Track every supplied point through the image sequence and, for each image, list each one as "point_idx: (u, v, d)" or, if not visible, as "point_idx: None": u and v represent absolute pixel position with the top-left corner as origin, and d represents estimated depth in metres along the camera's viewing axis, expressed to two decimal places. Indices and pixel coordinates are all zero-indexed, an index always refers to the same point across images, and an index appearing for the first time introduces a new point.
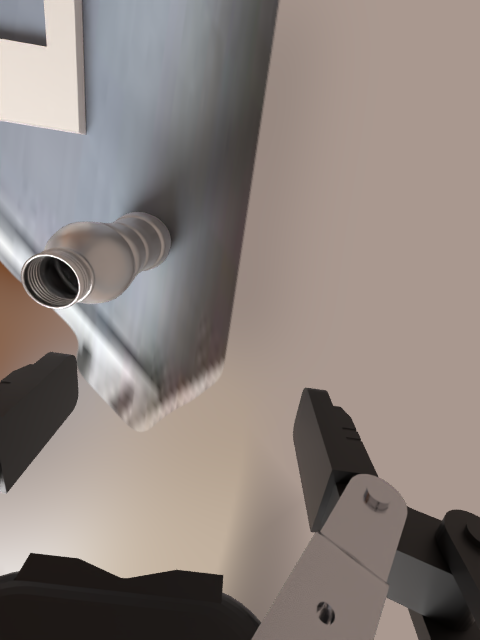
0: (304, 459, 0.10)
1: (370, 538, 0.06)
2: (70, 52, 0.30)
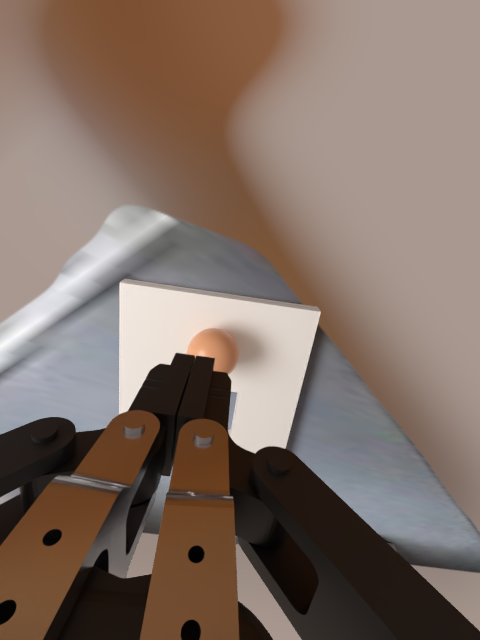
0: None
1: (208, 471, 0.07)
2: None
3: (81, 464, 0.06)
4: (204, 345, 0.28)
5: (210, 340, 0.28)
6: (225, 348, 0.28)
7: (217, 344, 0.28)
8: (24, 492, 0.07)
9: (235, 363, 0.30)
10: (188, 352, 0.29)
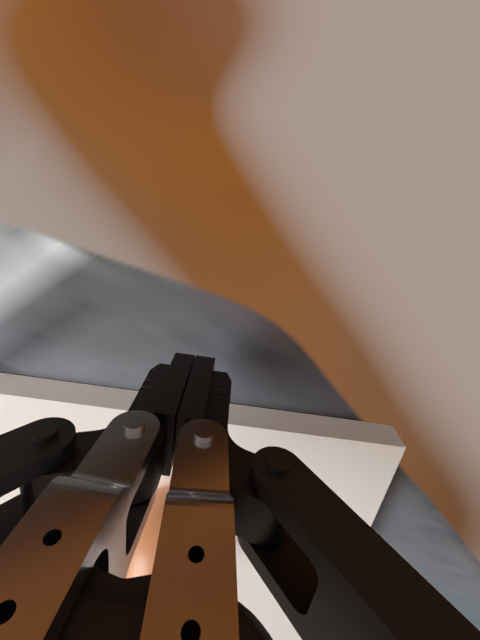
0: None
1: (208, 471, 0.07)
2: None
3: (81, 465, 0.06)
4: (142, 565, 0.12)
5: None
6: None
7: None
8: (24, 492, 0.07)
9: None
10: None
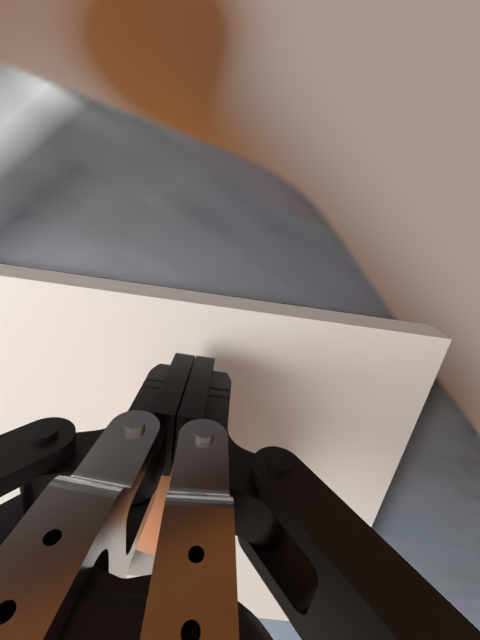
0: None
1: (208, 471, 0.07)
2: None
3: (81, 465, 0.06)
4: None
5: None
6: None
7: None
8: (25, 492, 0.07)
9: None
10: None
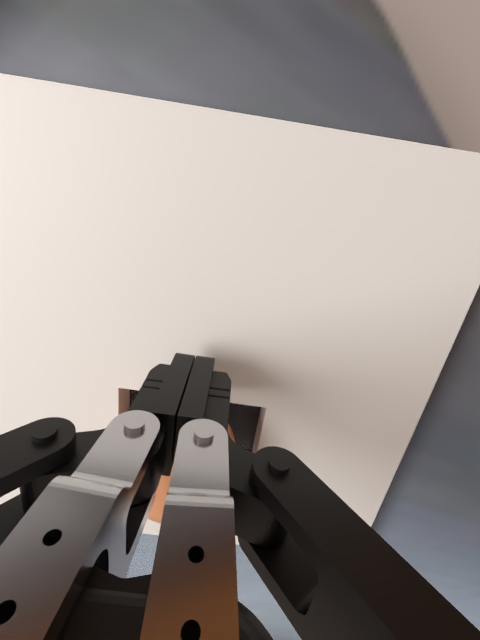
0: None
1: (208, 471, 0.07)
2: None
3: (81, 465, 0.06)
4: None
5: None
6: None
7: None
8: (24, 492, 0.07)
9: None
10: None
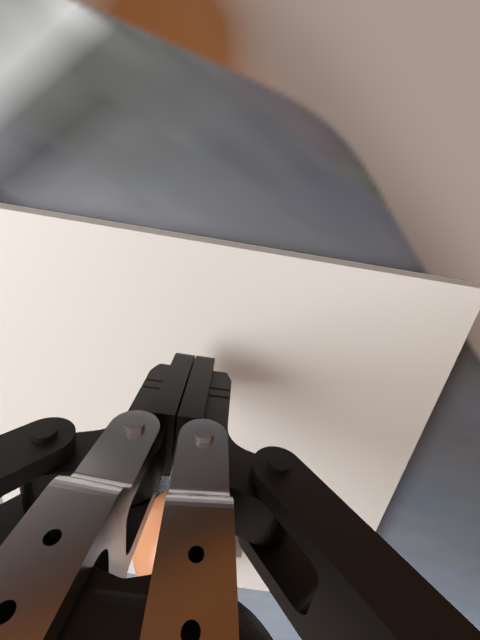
0: None
1: (208, 471, 0.07)
2: None
3: (81, 465, 0.06)
4: None
5: None
6: None
7: None
8: (24, 492, 0.07)
9: None
10: None
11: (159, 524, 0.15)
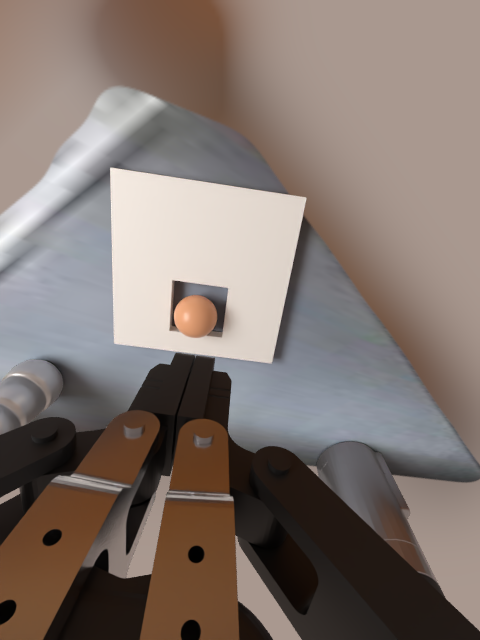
0: None
1: (208, 471, 0.07)
2: (167, 346, 0.39)
3: (81, 465, 0.06)
4: None
5: None
6: None
7: None
8: (24, 492, 0.07)
9: None
10: None
11: (186, 299, 0.35)
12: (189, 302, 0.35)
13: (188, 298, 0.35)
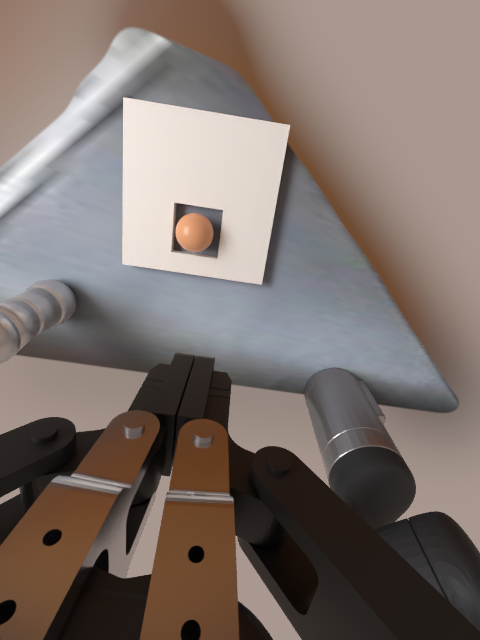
0: None
1: (208, 471, 0.07)
2: (169, 267, 0.45)
3: (81, 464, 0.06)
4: None
5: None
6: None
7: None
8: (24, 492, 0.07)
9: None
10: None
11: (187, 214, 0.41)
12: (190, 214, 0.40)
13: None
